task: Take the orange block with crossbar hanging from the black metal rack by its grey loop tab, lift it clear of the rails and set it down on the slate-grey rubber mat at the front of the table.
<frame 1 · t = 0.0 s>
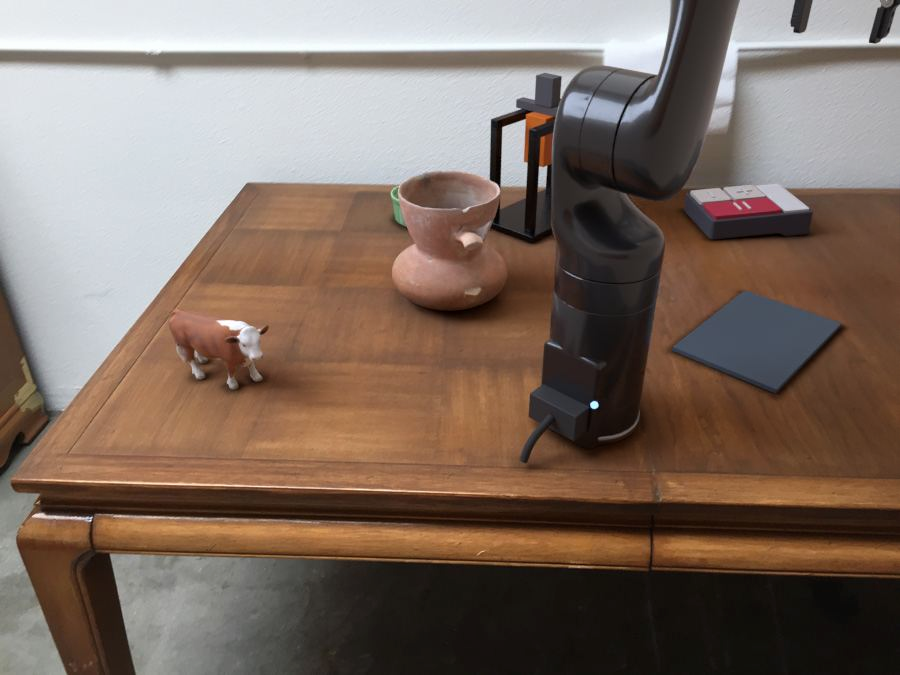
hand: (836, 37, 89), 29 cm above the table, tool pointing down, fingers open, 8 cm apart
rack: (540, 216, 118), on the table
ramekin: (421, 220, 118), on the table
orange block with crossbar: (543, 160, 114), point 9 cm above the table, touching rack
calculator: (743, 223, 116), on the table
mat: (758, 338, 88), on the table
bull figurine: (229, 380, 82), on the table
ceramic jug: (448, 293, 98), on the table
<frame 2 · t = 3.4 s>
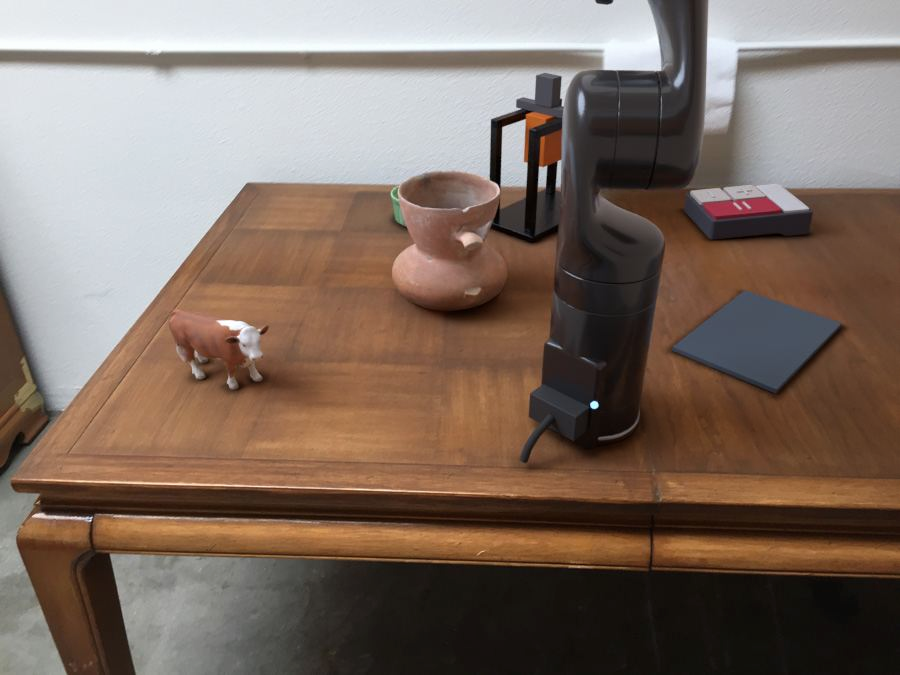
nothing on the table moved.
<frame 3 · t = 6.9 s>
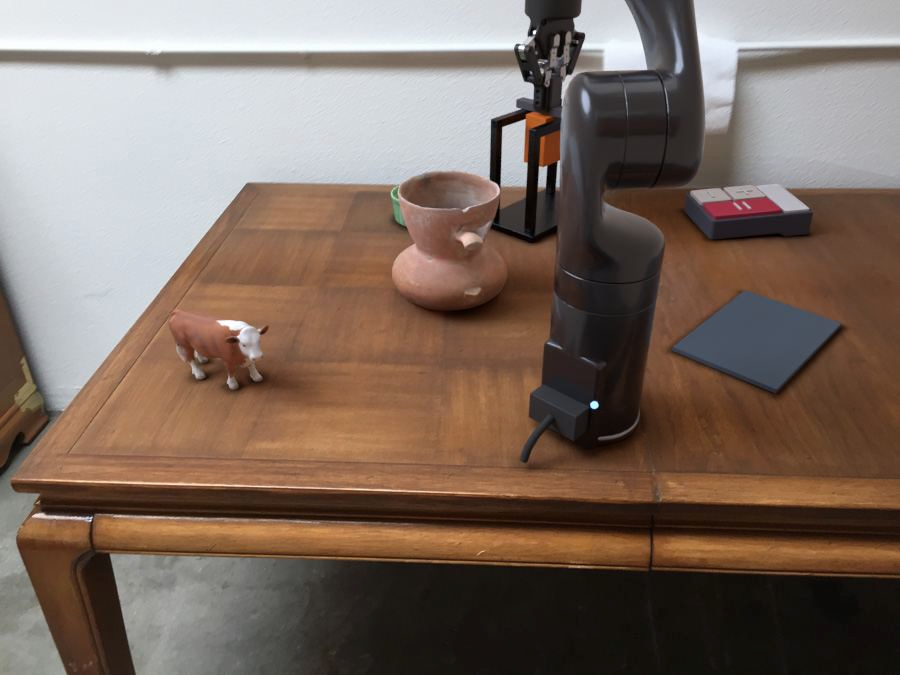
hand: (546, 109, 110), 16 cm above the table, tool pointing down, fingers closed on orange block with crossbar
orange block with crossbar: (543, 160, 114), point 9 cm above the table, touching gripper, rack
everything else where it was.
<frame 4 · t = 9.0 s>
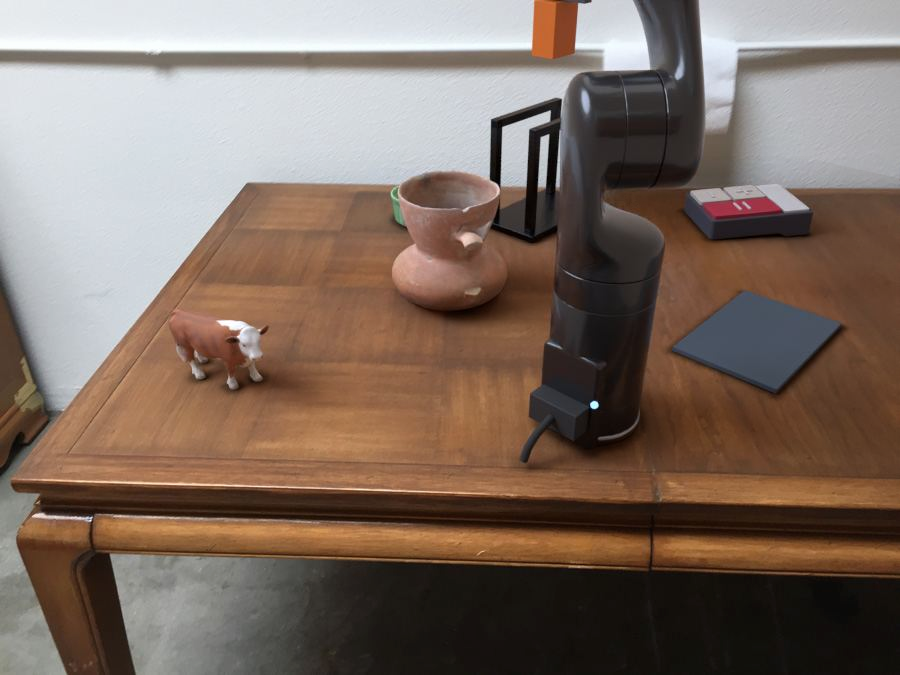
orange block with crossbar: (553, 54, 105), point 24 cm above the table, touching gripper
everything else where it was.
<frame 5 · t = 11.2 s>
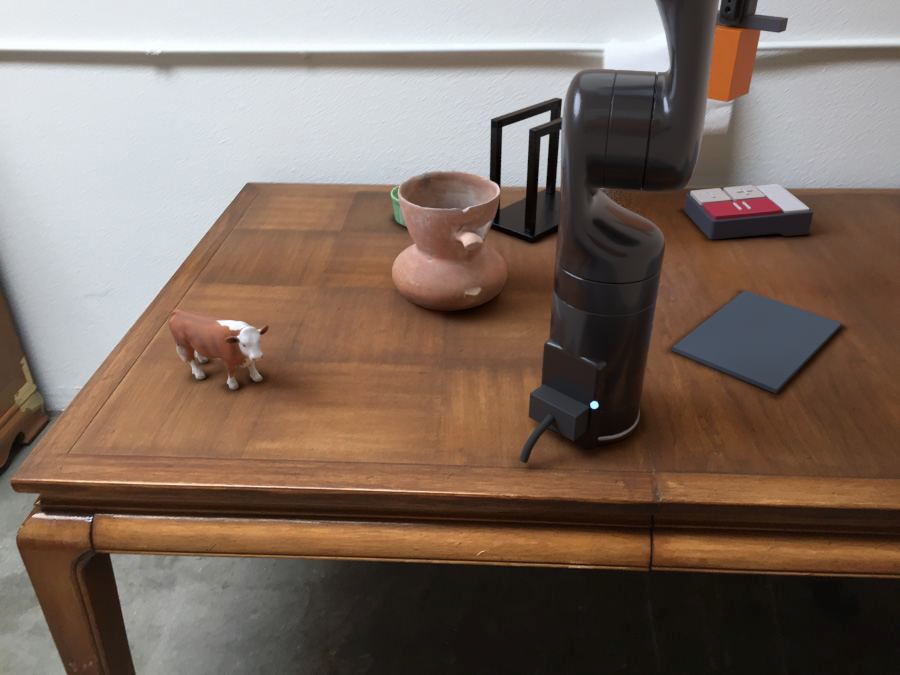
hand: (735, 21, 79), 33 cm above the table, tool pointing down, fingers closed on orange block with crossbar
orange block with crossbar: (722, 94, 83), point 25 cm above the table, touching gripper
everything else where it was.
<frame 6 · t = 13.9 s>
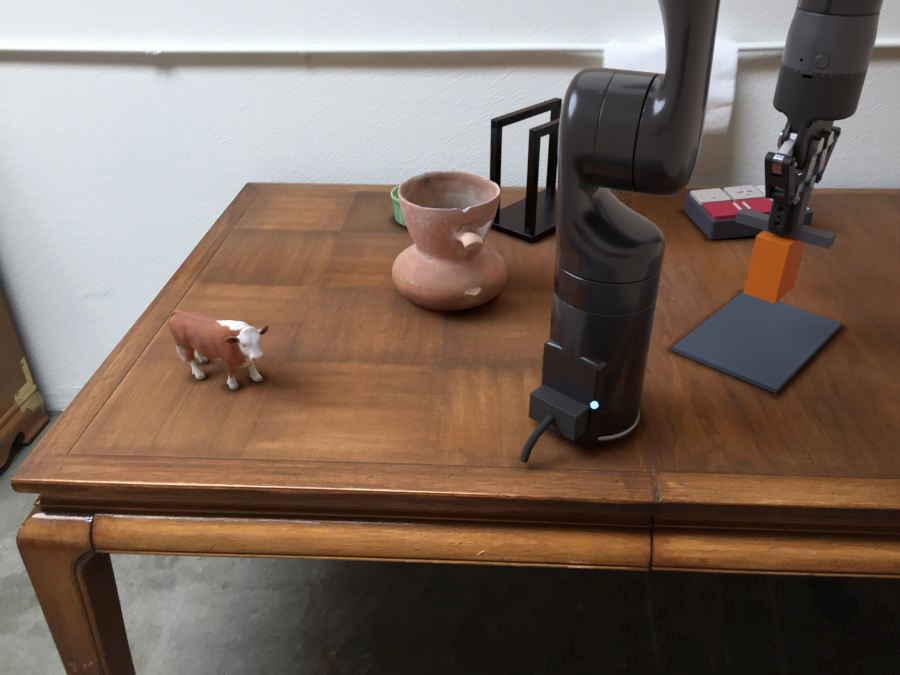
hand: (783, 229, 81), 14 cm above the table, tool pointing down, fingers closed on orange block with crossbar
orange block with crossbar: (768, 290, 85), point 6 cm above the table, touching gripper
everything else where it was.
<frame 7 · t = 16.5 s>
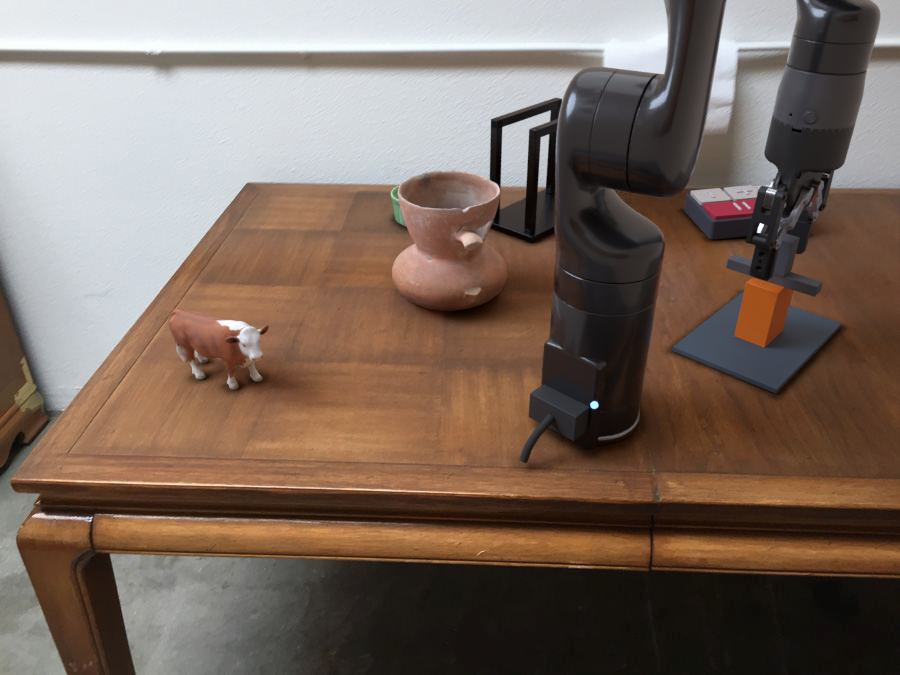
hand: (777, 264, 83), 10 cm above the table, tool pointing down, fingers open, 8 cm apart
orange block with crossbar: (758, 333, 88), point 1 cm above the table, touching mat
everything else where it was.
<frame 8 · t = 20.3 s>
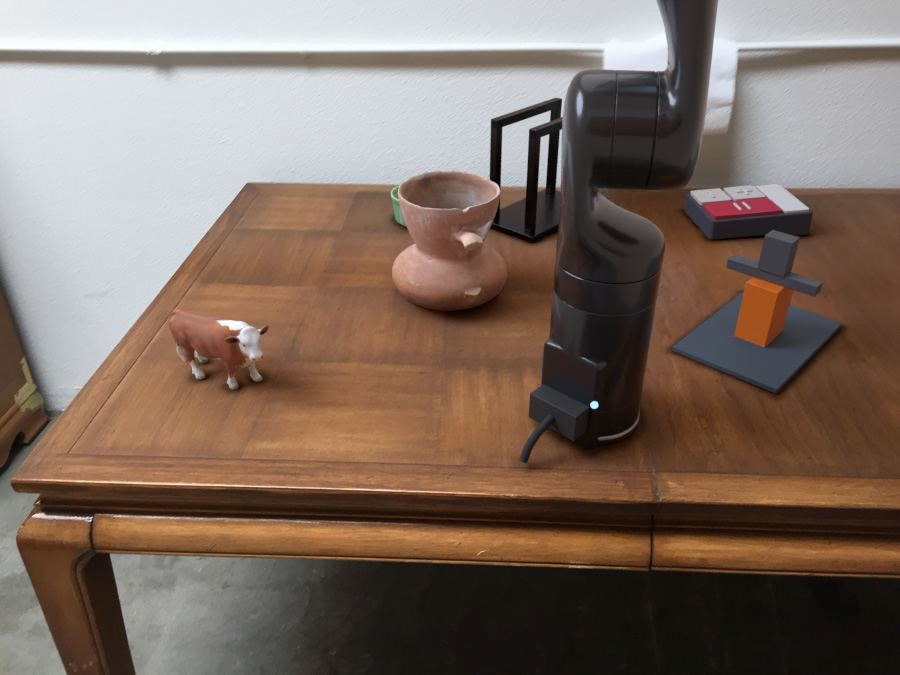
nothing on the table moved.
at the end: orange block with crossbar inside the target area on the mat (0.2 cm from its centre), point 0.6 cm above the mat's base; the gripper is holding nothing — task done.
